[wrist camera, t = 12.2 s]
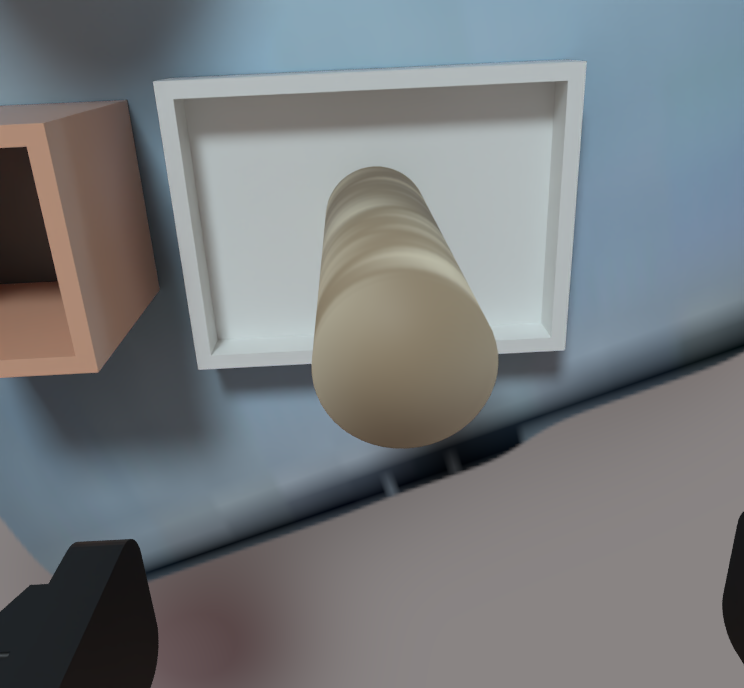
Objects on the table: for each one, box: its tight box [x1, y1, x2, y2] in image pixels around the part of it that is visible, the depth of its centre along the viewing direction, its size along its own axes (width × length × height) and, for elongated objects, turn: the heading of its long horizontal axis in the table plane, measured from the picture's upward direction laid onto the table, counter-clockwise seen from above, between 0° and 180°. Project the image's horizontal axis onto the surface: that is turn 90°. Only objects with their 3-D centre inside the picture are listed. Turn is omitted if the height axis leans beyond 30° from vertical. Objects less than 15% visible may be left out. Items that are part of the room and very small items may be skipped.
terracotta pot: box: [0, 100, 160, 378], centre depth 24 cm, size 8×8×8 cm
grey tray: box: [153, 60, 587, 370], centre depth 27 cm, size 15×11×2 cm
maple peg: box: [312, 166, 498, 448], centre depth 21 cm, size 4×4×14 cm
